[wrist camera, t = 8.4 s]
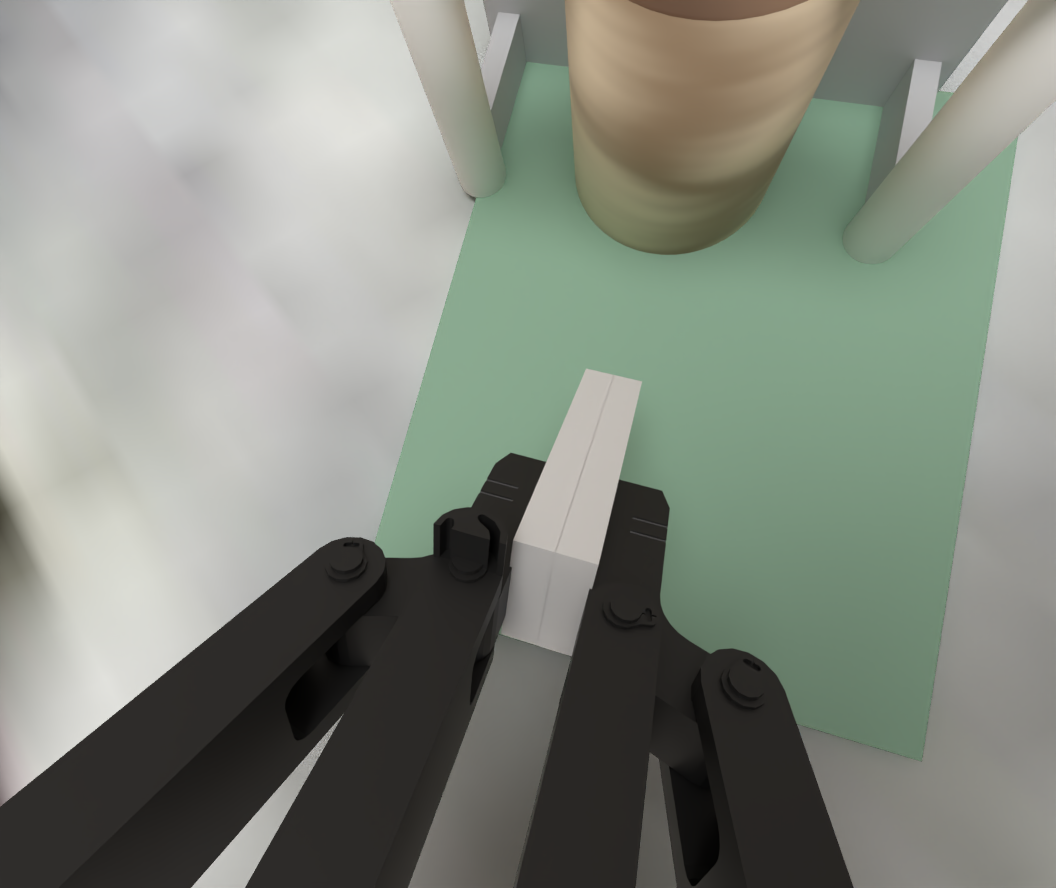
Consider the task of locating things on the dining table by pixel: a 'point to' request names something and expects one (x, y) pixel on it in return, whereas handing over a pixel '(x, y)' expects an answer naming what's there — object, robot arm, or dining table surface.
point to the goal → (852, 76)
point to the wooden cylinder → (689, 109)
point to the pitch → (737, 401)
